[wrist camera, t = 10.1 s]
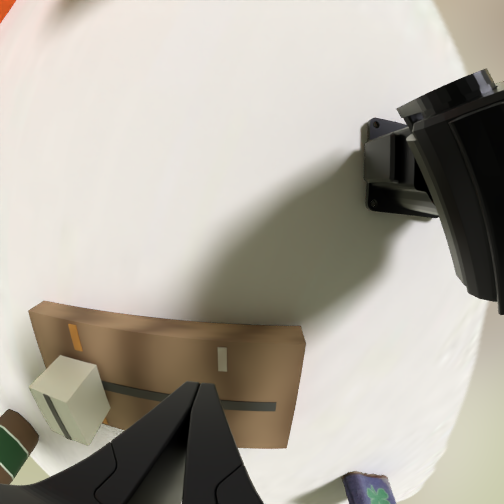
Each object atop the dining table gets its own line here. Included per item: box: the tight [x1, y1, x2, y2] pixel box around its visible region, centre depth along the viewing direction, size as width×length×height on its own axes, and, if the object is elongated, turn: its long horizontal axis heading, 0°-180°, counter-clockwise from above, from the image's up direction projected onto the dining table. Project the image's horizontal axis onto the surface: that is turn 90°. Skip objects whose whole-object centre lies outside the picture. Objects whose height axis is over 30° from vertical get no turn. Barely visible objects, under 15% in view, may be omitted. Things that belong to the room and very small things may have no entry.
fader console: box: [28, 301, 306, 449], centre depth 20 cm, size 23×12×3 cm, turn 88°
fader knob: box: [29, 355, 110, 446], centre depth 16 cm, size 4×5×5 cm
